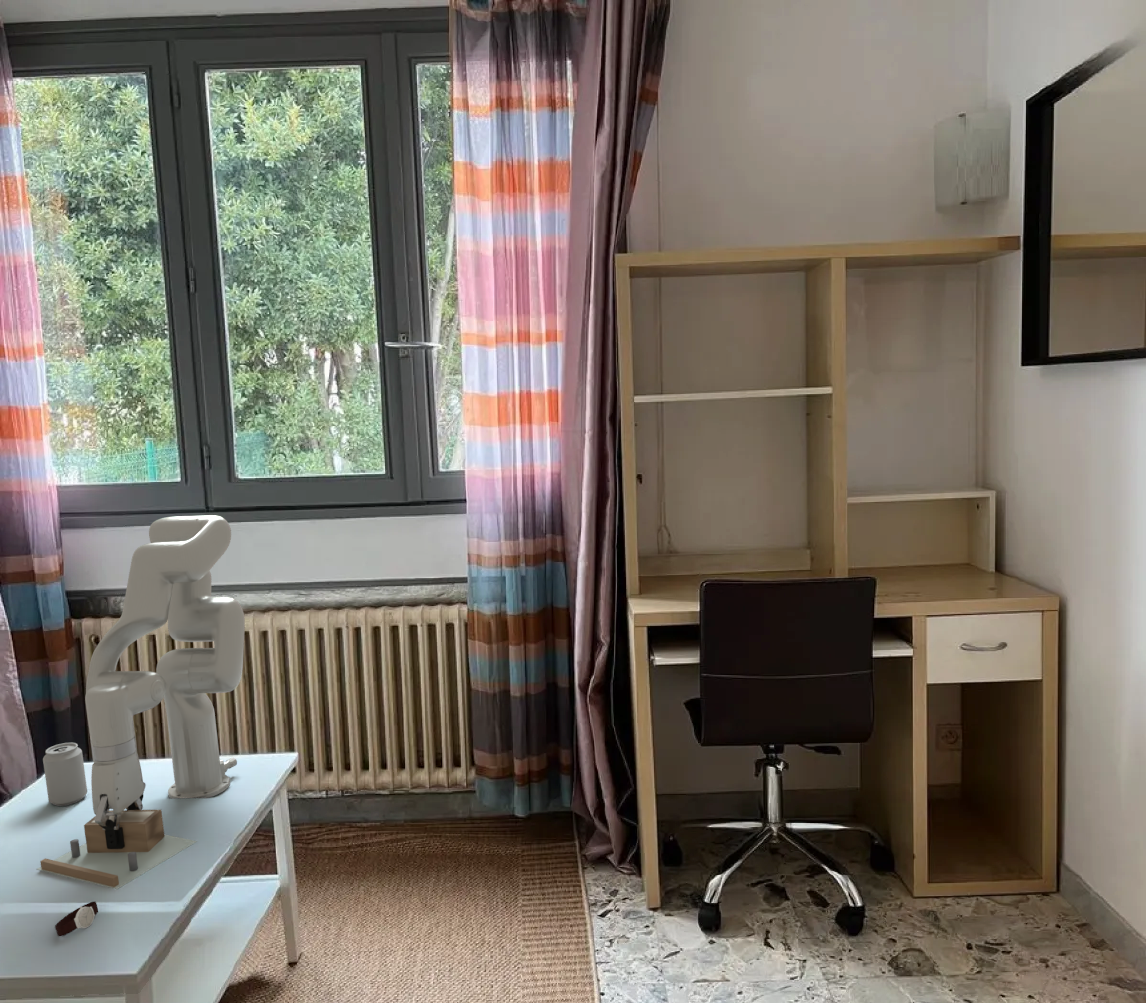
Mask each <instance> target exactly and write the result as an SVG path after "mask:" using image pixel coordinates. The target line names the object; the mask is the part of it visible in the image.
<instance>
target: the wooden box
mask: <svg viewBox="0 0 1146 1003" xmlns="http://www.w3.org/2000/svg"><path fill="white" fill-rule="evenodd" d="M109 812H113V809H110V810H109ZM162 812H163V811H162V809H142V810H126V809H125V810H123V811H122V812H121V818H120V827H122V829H123V837H124V845H125V846H124V848H123V849H108V848H107V844H106V837H105V830H103V829H102V827H101V826H100V825H99V824H97V823H96V822H95V816H94V817H93V818H91V819H90V820H89V821H87V822H86V823H85V824H83V830H84V835H85V836H84V837H85V843H86V845H87V852H88V853H110V852H149V851H150V850H151V849H152V848H153V847H154V846H155V845H156V844H157V843H158V842H159V841H160V840H162V839H163V838H164V837H165V835H166V834H165V829H164V827H165V826H164V820H163V819H164V818H163V813H162ZM109 819H110V820H112V821H113V822H114V816H109Z"/></svg>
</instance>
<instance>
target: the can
mask: <svg viewBox="0 0 1146 1003" xmlns="http://www.w3.org/2000/svg"><path fill="white" fill-rule="evenodd" d="M78 746H79V745H78V743H76V742H64V743H59V744H55V745H53V746H50V747H48V748H47V749H45V755H44V756H43V758H42V762H43V770H44V776H45V777H44V778H45V784H46V791H47V799H48V802H49V803H50V804H53V805H54V806H58V807H62V806H69V805H73V804H75V803H79V802H80V801H82V800H83V799H84V798H85V796H86V795H87V794H88V786H87V780H86V772H85V763H84V757H83V756H84V755H83V750H82V749H81V748H80V747H78Z"/></svg>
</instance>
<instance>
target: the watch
mask: <svg viewBox="0 0 1146 1003" xmlns="http://www.w3.org/2000/svg"><path fill="white" fill-rule="evenodd" d="M98 913H99V908H98V904H97V902H96V901H91V902H89V903H85V904H84V905H80V906H79V907H78V908H76V909H74V910H72V911H71V912H70V913H68V914H66V915H65V916H64V917H63V918H61V919H60V920H59V921H58V922H57V923H56V924H55V925H54V929H55V932H56V934H57V936H58V937H63V936H66V935H68V934H70V933H72V932H74V931H76V930H78V929H86V928H88V927H89V928H90V926H91V925H92V924H93V922H94V919H95V916H96V915H97V914H98Z"/></svg>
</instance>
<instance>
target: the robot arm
mask: <svg viewBox="0 0 1146 1003" xmlns="http://www.w3.org/2000/svg"><path fill="white" fill-rule="evenodd" d="M148 538H149V542H150V543H146V544H142V545H140V546H139V547H137V548H136V549H135V551H134V552H133V554H132V558H131V561H130V568H129V572H128V578H127V583H126V590H125V595H124V601H123V607H122V612H121V616H120V618H119V620H117V621H116V623H115V624H113V625H112V626H111V627H110V628H109V630H108V631H107V632H106V633H105V634H104V636H102V638H101V640H100V641H99V643H97V645H96V647H95V649H94V651H93V653H92V655H91V659H90V661H89V666H88V667H89V668H88V673H87V677H86V685H85V686H86V687H85V697H84V698H85V700H84V701H85V709H86V715H87V723H88V732H89V737H90V738H89V739H90V740H89V741H90V746H91V747H90V748H91V755H92V762H93V763H92V765H91V766H92V767H91V775H90V776H91V778H90V779H91V781H90V782H91V783H90V784H91V797H92V800H91V801H92V809H93V813H94V815H95V816H94V817H95V822H96V823H97V824H99V825H100V826H101V827H102V829H103V830H105V837H106V844H107V848H108V849H123V848H124V846H125V845H124V837H123V829H122V827H120V818H121V812H122V811H123V810H144V809H143V808H144V807H143V806H144V804H143V799H144V792H145V789H146V786H147V784H146V782H144V779H143V771H142V766H141V763H140V762H141V761H140V759H139V758H140V757H139V755H138V748H137V740H136V733H135V727H134V726H135V725H134V715H137V714H141V713H143V712H147V711H149V710H151V709H153V708H155V707H156V706H158V705H159V704H160V703H161V702H162V701H163V702H164V706H165V712H166V720H167V727H168V728H167V729H168V737H169V746H170V753H171V761H172V763H171V764H172V770H173V778H174V783H173V784H172V785H171V786H170V787H169V788H168V790H167V794H168V798H169V799H171V800H172V799H173V800H175V799H177V800H178V799H180V800H181V799H185V800H186V799H209V798H212V797H214V796H218V795H219V794H222V793H223V792H224V791H226V790H227V789H228V788H229V787H230V785H231V779H230V776H228V775H226V773H227V771H228V770H230V769H232V768H234V767H236V766H237V764H238V761H237V759H236V757H231V758H229V759H227V760H226V761H224V760H223V759H220V750H219V741H218V732H217V724H216V723H217V722H216V716H215V715H216V714H215V708H214V706H213V703H212V701H211V699H210V697H209V696H208V695H207V694H216V693H217V694H222V693H224V694H225V693H229V692H232V691H234V690H235V689H237V687H238V686H239V684H240V683H241V680H242V674H243V665H244V648H245V646H244V644H245V628H246V627H245V625H246V624H245V614H244V610H243V607H242V605H241V604H240V602H239V601H238V600H236V599H235V598H233V597H229V596H212V573H211V569H212V568H214V566H215V565H216V563H217V562H218V561H219V560H220V559H221V558H222V557H223V555H224V554H225V553H226V551H227V549H229V546H230V543H231V539H232V529H231V526H230V524H229V522H228V520H227V519H225V518H224V517H222V516H221V515H215V514H214V515H213V514H209V515H207V514H206V515H204V514H203V515H182V516H179V515H178V516H167V517H162V518H159V519H156V520H154V521H153V522H152V523H151V524H150V525H149V530H148ZM166 623H167V631H168V636H170V638H171V639H172V640H175V641H177V642H183V643H184V642H186V643H188V642H189V643H198V642H200V643H201V642H202V643H203V642H213V646H214V647H190V648H189V647H188V648H186V647H184V648H176V649H172V650H170V651H168V652H166V653H163V655H162V656H160V658H159V659H158V662H157V664H156V667H155V668H156V671H148V670H124V671H122V670H117V671H116V669H117V665H118V662H119V660H120V657H121V656H122V654H123V653H124V651H125V650H126V649H127V648H128V647H129V646H130V645H132V644H133V643H134V642H136V641H137V640H139V639H141V638H142V637H144V636H146V635H148V634H150V633H151V632H153V631H156V630H158V629H161V628H162V627H163V626H165V625H166ZM110 810H113V812H109V811H110ZM109 816H114V822H113V821H112V820H110V819H109Z"/></svg>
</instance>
